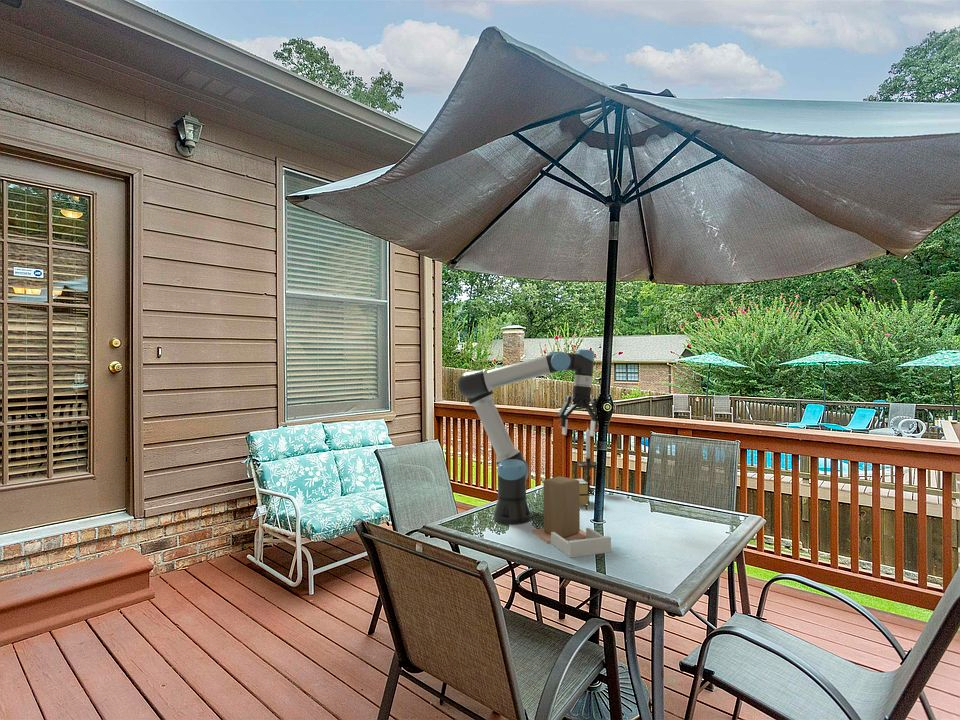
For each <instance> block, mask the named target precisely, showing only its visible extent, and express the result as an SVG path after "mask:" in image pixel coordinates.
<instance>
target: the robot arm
mask: <svg viewBox="0 0 960 720" xmlns="http://www.w3.org/2000/svg"><path fill="white" fill-rule="evenodd" d="M594 364H595V352H594V351H593V350H590V349H582V348H580V349H577V350H576V353H575V352H574V353H570V352H564V351H550V352H548V355H544V356H541V357H540V356H539V357H536V358H532V359H528V360H524V361H523V360H522V361H519V362H516V363H512V364H507V365H504V366H500V367H497V368H493V369H488V370H486V369H485V368H484V369H481V370H478V369H472V370H467V371H465V372H463V373H462V374H461V375H460V376H459V378H458V380H457V384H456V385H457V389H458V392H459V394H461V395H462V396H463V397H464V398H466V400H467V402H468V404H469V406H471V407H474V409H475V412H476V414H477V415H478V418H479V420H480V421H481V424H482V426H483V429H484V431H485V433H486V435H487V437H488V440H489V442H490V444H491V447H492V448H493V450H494V452H495V455H496V460H495V463H496V466H497V469H496V473H497V501H496V504H495V508H494V511H493V520H494V521H496V522H497V523H500V524H504V525H520V524H521V525H522V524H525V523H529V522H530V521H531V519H532V518H531V511H530V508H529V504H528V502H527V480H528V478H529V476H530V467H529V464H528V461H526V459H524V456H523V454H522V452H521V451H520V449H518V448H515V446H514V444H513V441H512V440H511V436H510V435H509V433H508V431H507V428H506V427H505V424H504V421H503V419H502V418H501V416H500V413H499V411H498V408H497V407H496V404H495V402H494V400H493V397H494V392H493V390H492V389H496V388H500V387H504V386H507V385H511V384H514V383H519V382H522V381H525V380H530V379H534V378H538V377H541V376H545V375H549V374H554V373H557V372H563V371H571V372H574V377H573V378H574V379H573V384H574V386H573V387H572V388H573V389H572V390H573V391H572V393H573V394H572V396H570V395H566V396H565V401H564V403H563V405H562V406H561V407H560V409H559V412H558V413H557V417H558V418H559V419H561V420H560V421H561V422H560V427H562V429H561V435H564V436H567V433H568V422H569V420H568V419H567V418H568V417H570V415H571V414H572V413H573V412H574V411H575V409H577V408H583V409H585V410H586V411H587V412H588V415H589V416H590V418H591V420H590V426H589V427H590V428H589V431H590V437H595V435H596V429H597V428H598V427H597V426H598V422H599V421H598V418H597V413H596V402H597V401H598V398H597V397H591V395H592V385H593V374H594V373H593V372H594ZM571 402H572V403H571ZM590 403H591V405H592V407H591V405H590ZM597 403H598V402H597ZM592 408H593V409H592Z"/></svg>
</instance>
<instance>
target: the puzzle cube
mask: <svg viewBox="0 0 960 720" xmlns="http://www.w3.org/2000/svg"><path fill="white" fill-rule="evenodd" d="M575 479H576V480H578V481H579V501H580V505H586V504H588V505H589V495H588V483H587V481H585V479H584V478H575Z"/></svg>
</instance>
